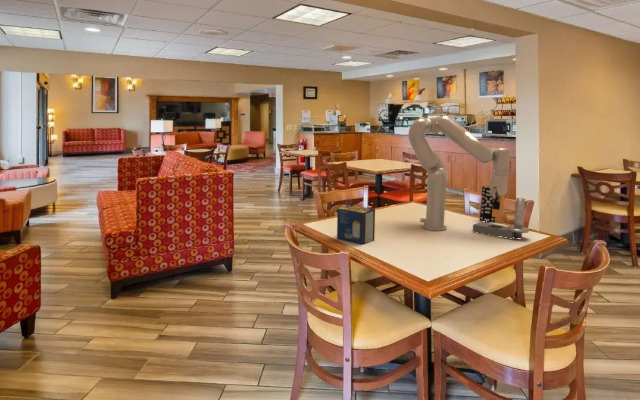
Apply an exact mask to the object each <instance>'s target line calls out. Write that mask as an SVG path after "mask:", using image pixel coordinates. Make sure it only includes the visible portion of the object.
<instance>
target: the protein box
mask: <svg viewBox="0 0 640 400" xmlns="http://www.w3.org/2000/svg"><path fill="white" fill-rule="evenodd" d="M336 213H337V218H336V219H337V220H336V224H337V225H336V227H337V228H336V239H337V240H339V241H344V242H348V243H354V244H357V245H365V244H368V243H370V242H373V241H375V229H376V228H375V227H376V225H375V224H376V223H375V222H376V209H375V208H369V207H364V206H357V205H352V204H351V205H350V204H348V205H346V206H345V205H344V206H341V207H337V212H336Z"/></svg>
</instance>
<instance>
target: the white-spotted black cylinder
mask: <svg viewBox="0 0 640 400" xmlns="http://www.w3.org/2000/svg"><path fill="white" fill-rule="evenodd" d="M490 188H491V185H484V186H481V198H480V210H479V211H480V212H479V221H480V222H481V221H485V223H486V221H487V222H493V223H495V222H496V217H492V209H493V198H492V195H490Z"/></svg>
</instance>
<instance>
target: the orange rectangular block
mask: <svg viewBox="0 0 640 400" xmlns="http://www.w3.org/2000/svg"><path fill="white" fill-rule="evenodd" d="M496 195H497V194H496ZM505 195H506V194H505V193H504V194H501V196H500V199H499V202H500V207H499V210H497V209H492V217H495V218H498V219H499V218H503V217H504V209H505ZM497 198H498V197H497Z"/></svg>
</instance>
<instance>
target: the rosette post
mask: <svg viewBox="0 0 640 400" xmlns="http://www.w3.org/2000/svg"><path fill="white" fill-rule="evenodd" d="M525 205H526V198H523V197H516V199H515V210H514V221H513V225H508V226H507V230H508V231H511V232H514V238H523V237H522V236H523V234H528V233H530V228H528V227H526V226H524V219H525V208H526V207H525Z"/></svg>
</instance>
